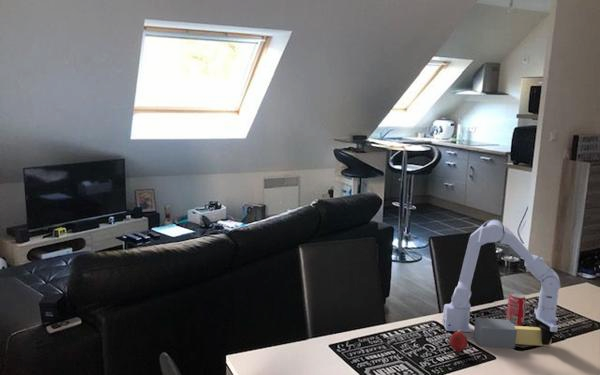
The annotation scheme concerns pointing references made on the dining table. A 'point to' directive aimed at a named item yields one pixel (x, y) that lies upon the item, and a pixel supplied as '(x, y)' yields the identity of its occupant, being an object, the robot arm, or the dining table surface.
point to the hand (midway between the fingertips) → (542, 341)
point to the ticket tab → (529, 336)
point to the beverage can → (516, 309)
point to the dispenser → (495, 333)
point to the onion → (458, 341)
